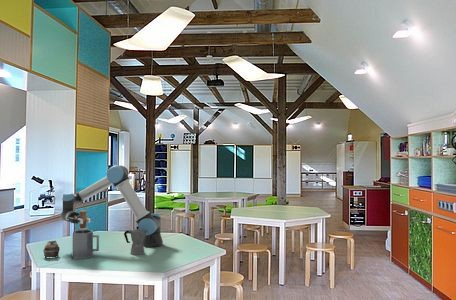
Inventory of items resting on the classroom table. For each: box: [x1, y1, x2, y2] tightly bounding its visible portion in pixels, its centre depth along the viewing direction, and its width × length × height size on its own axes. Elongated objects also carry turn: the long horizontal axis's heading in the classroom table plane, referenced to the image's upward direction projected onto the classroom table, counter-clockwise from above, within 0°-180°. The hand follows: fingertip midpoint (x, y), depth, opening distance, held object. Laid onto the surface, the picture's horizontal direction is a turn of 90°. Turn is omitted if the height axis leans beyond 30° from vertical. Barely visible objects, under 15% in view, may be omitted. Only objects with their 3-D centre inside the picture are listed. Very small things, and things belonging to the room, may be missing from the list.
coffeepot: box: [123, 225, 148, 256], centre depth 257 cm, size 15×9×18 cm, turn 107°
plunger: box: [77, 209, 89, 233], centre depth 250 cm, size 8×8×23 cm
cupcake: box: [43, 240, 60, 258], centre depth 250 cm, size 10×10×10 cm
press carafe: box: [71, 229, 100, 260], centre depth 249 cm, size 16×13×16 cm
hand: (86, 221), depth 246 cm, fingers closed on plunger, 4 cm apart
